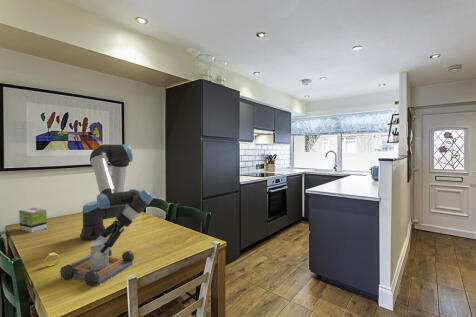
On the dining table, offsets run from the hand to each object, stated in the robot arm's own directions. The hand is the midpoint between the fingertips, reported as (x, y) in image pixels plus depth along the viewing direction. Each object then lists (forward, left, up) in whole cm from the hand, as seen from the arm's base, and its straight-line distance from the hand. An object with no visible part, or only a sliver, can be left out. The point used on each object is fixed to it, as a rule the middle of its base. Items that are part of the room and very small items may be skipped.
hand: (93, 252), depth 110 cm
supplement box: (+2, +2, -8) cm, 8 cm away
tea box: (-96, +30, -9) cm, 101 cm away
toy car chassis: (+1, +2, -9) cm, 9 cm away
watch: (-26, -2, -9) cm, 27 cm away
